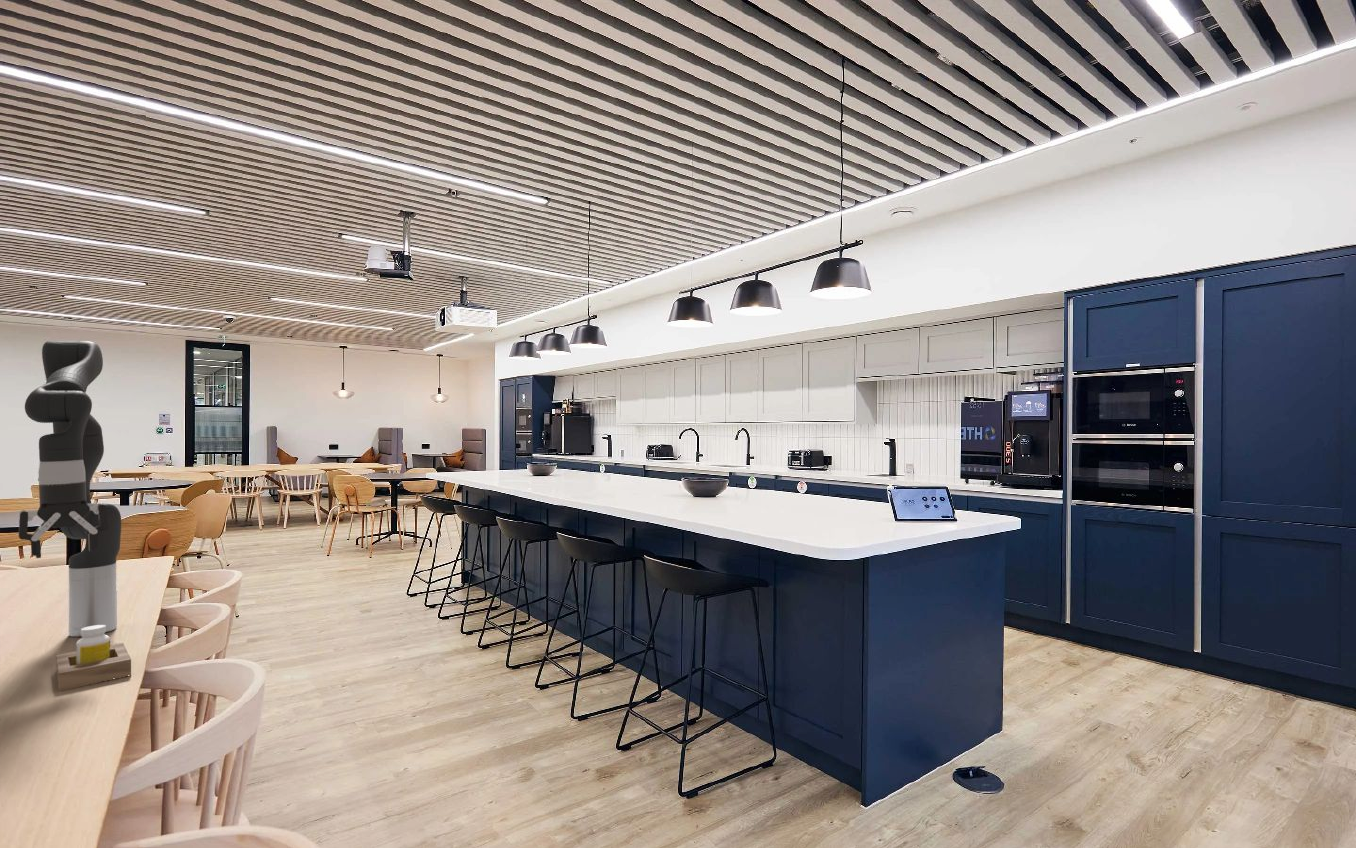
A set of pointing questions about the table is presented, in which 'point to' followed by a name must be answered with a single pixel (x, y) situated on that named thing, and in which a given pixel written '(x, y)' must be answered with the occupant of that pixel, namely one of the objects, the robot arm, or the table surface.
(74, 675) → the well block
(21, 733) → the table surface
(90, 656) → the supplement bottle
